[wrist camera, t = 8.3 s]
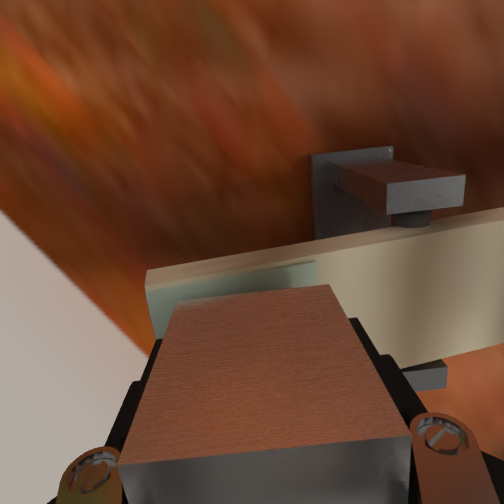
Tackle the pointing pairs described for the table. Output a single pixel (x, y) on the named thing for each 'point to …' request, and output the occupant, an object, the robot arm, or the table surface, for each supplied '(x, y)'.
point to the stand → (379, 208)
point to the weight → (265, 408)
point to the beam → (374, 282)
